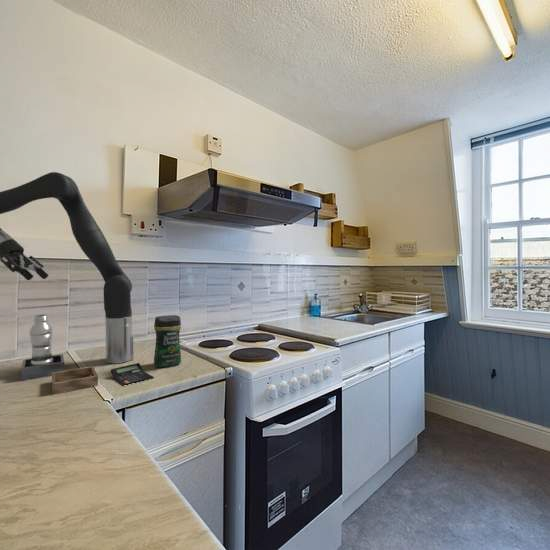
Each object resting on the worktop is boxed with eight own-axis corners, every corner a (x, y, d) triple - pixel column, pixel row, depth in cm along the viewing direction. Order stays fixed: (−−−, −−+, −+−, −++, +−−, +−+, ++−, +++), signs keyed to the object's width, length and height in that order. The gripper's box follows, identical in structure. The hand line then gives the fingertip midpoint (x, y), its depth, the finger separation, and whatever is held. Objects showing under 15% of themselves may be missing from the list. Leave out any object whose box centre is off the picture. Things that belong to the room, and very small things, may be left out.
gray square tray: (63, 364, 118) (62, 354, 118) (64, 373, 109) (64, 362, 109) (23, 370, 111) (23, 359, 111) (21, 380, 102) (21, 368, 102)
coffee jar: (156, 369, 113) (156, 318, 113) (152, 363, 120) (151, 315, 119) (183, 365, 119) (183, 316, 118) (178, 359, 125) (177, 313, 125)
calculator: (124, 387, 98) (124, 377, 98) (110, 377, 106) (110, 368, 106) (153, 379, 105) (153, 370, 105) (138, 370, 113) (138, 362, 113)
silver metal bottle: (41, 376, 106) (40, 317, 105) (25, 375, 107) (23, 316, 106) (58, 370, 112) (57, 314, 111) (42, 368, 114) (41, 313, 113)
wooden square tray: (93, 374, 108) (93, 366, 108) (97, 385, 99) (97, 376, 98) (52, 382, 101) (51, 372, 101) (52, 394, 92) (52, 384, 92)
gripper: (-4, 236, 106) (33, 271, 107) (25, 239, 120) (58, 270, 122) (-21, 252, 105) (17, 286, 107) (10, 253, 120) (43, 284, 121)
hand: (39, 277), depth 114 cm, fingers open, 8 cm apart
